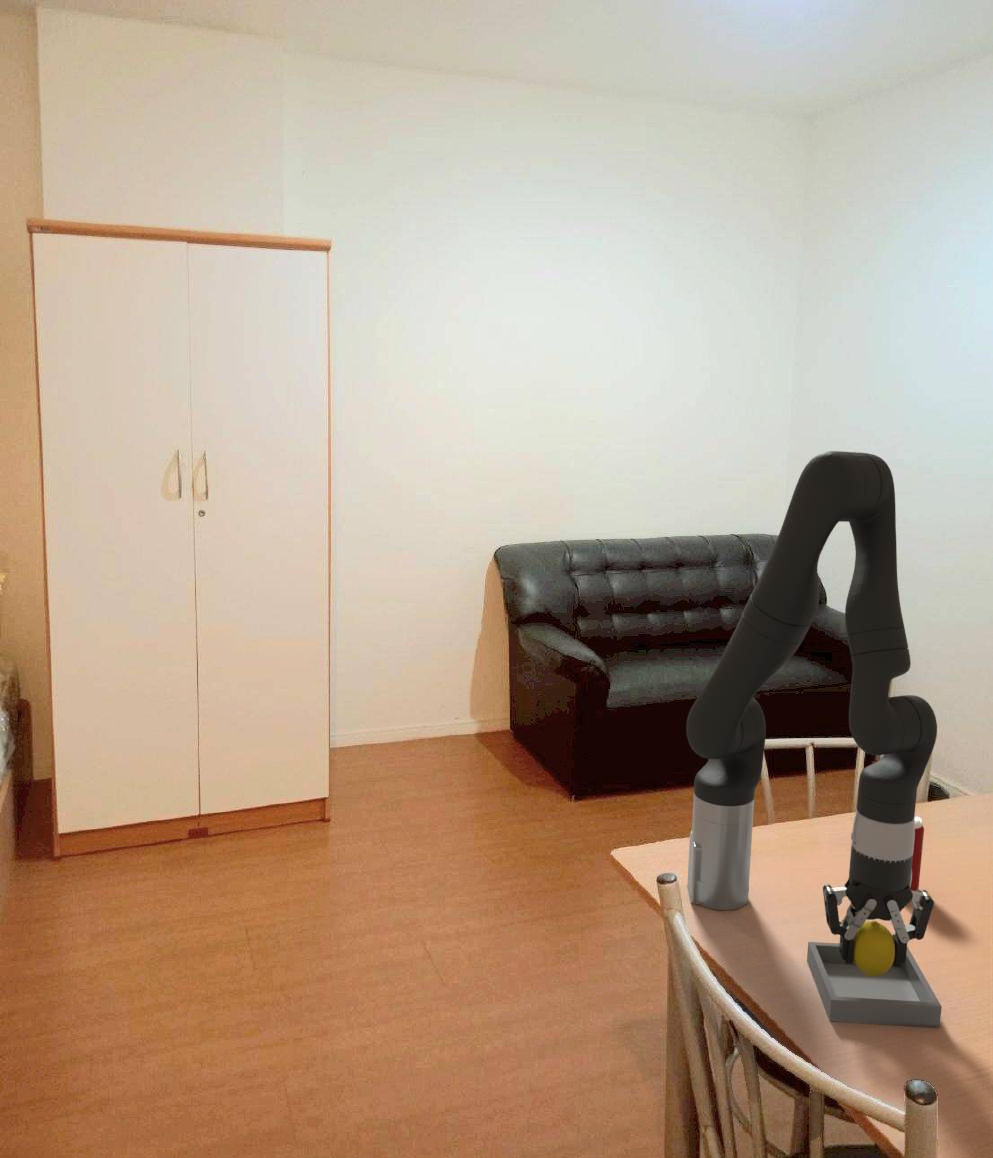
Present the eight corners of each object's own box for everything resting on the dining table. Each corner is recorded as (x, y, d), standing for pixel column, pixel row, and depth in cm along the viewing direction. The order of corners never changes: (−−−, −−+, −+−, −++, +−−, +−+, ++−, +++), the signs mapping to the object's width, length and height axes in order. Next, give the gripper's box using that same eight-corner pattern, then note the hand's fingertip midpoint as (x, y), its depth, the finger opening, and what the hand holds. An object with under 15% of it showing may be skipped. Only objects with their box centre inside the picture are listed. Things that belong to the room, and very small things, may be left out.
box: (829, 1020, 127) (831, 999, 127) (806, 961, 140) (808, 941, 140) (939, 1027, 126) (941, 1006, 125) (906, 966, 139) (907, 947, 139)
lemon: (872, 992, 129) (876, 936, 128) (839, 971, 134) (844, 916, 132) (901, 981, 132) (907, 926, 130) (868, 960, 136) (873, 907, 135)
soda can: (921, 897, 158) (928, 827, 156) (886, 893, 159) (893, 824, 157) (914, 881, 163) (921, 813, 161) (881, 878, 164) (887, 810, 162)
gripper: (832, 855, 126) (822, 975, 129) (949, 861, 125) (936, 982, 128) (819, 829, 133) (810, 944, 137) (929, 835, 132) (918, 950, 135)
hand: (871, 962), depth 132 cm, fingers closed on lemon, 5 cm apart
